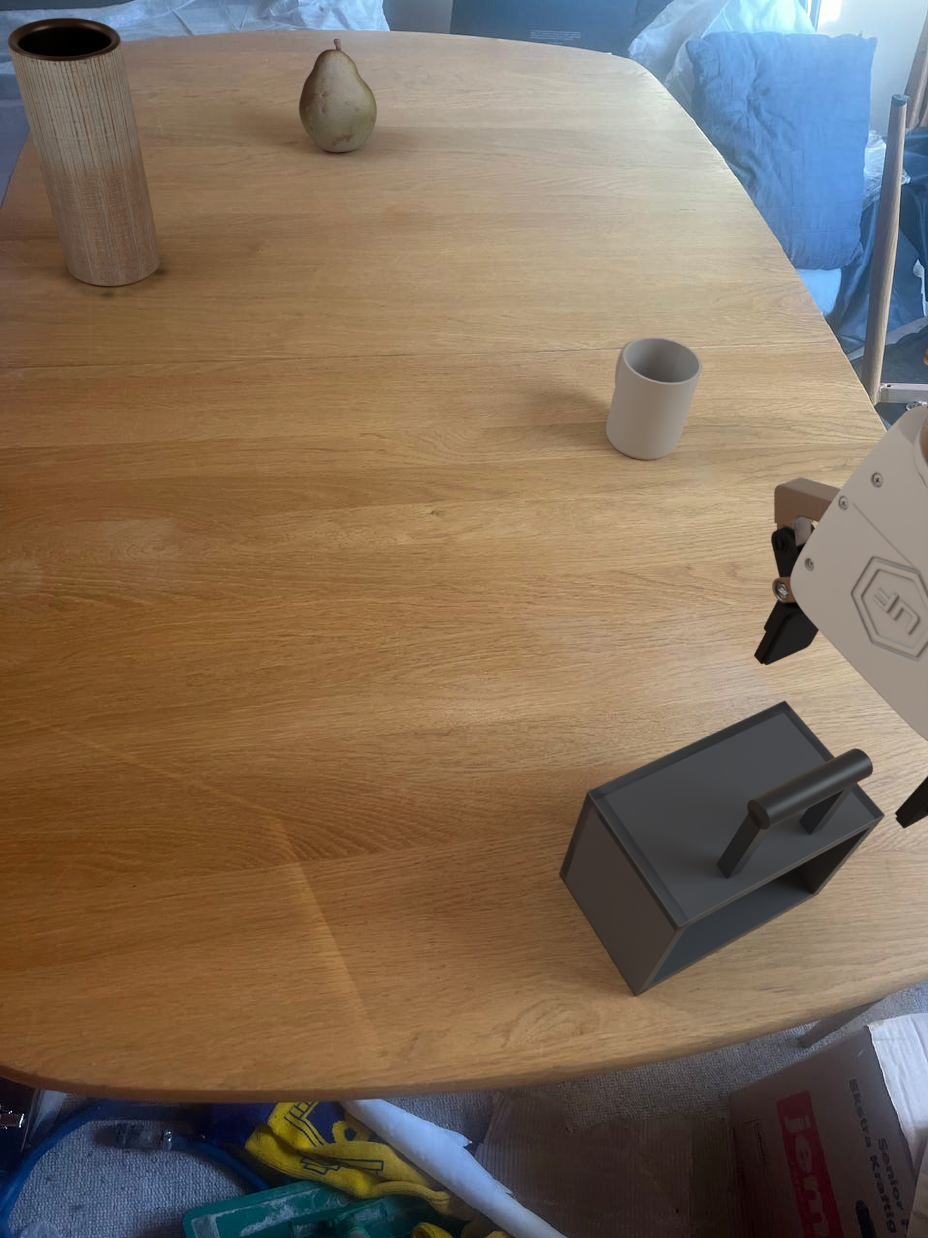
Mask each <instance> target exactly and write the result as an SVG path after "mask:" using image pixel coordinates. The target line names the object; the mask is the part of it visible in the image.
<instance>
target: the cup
mask: <svg viewBox="0 0 928 1238" xmlns="http://www.w3.org/2000/svg"><path fill="white" fill-rule="evenodd" d="M702 363H703V362H702V359H701V358H700V356H699V354H698V353H697V352H695V350H693V349H692V348H691V347H689V346H687V345H686V344H684V343H682V342H679V341H677V340H675V339H671V338H667V337H661V336H647V337H641V338H637V339H634V340H631V341H628V342H627V343H625V344H624V345H623V347H622V348H621V350H620V351H619V354H618V357H617V360H616V363H615V370H614V371H615V372H614V390H613V394H612V398H611V401H610V402H611V403H610V406H609V411H608V416H607V420H606V424H605V433H606V436H607V439H608V441H609V442H610V444H611V445H612V446H613V448H615V449H616V451H618V452H620V453H621V454H622V455H625V456H627V457H630V458H633V459H635V460H636V459H637V460H643V461H654V460H660V459H663V458H665V457H667V456H668V455H670V454H672V452H674V451H675V450H676V448H677V447H678V445H679V443H680V441H681V437H682V434H683V430H684V427H685V424H686V421H687V417H688V414H689V411H690V408H691V404H692V402H693V398H694V396H695V392H696V389H697V386H698V382H699V380H700V376H701V373H702V370H703V364H702Z"/></svg>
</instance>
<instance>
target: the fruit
mask: <svg viewBox="0 0 928 1238" xmlns="http://www.w3.org/2000/svg"><path fill="white" fill-rule="evenodd" d="M333 44H334V45H335V48H332V49H330V48H329V49H325V50H323V51H322V52H320V53H319V55H318V56H317V57H316V59H315V61H314V65H313V68H312V69H311V72H310V73H309V75H308V76H307V77H306V79H305V81H304V83H303V86H302V90H301V94H300V98H299V103H298V113H299V119H300V122H301V124H302V127H303V129H304V131H305V132H306V133H307V135H308V136H309V137H310V138H311V139H312V141H313V143H314V144H315V145H316V146H318V147H319V148H320V149H321V150H324V151H327V152H329V153H342V152H345V153H346V152H351V151H356V150H358V149H360V148H362V147H364V145H365V144H366V143H367V141H368V140H369V138H370V137H371V135H372V133H373V131H374V129H375V126H376V122H377V116H378V106H377V102H376V101H377V100H376V98H375V96H374V92H373V91H372V89H371V88H370V86H369V85H368V84H367V82H365V80H364V79H363V78H362V77H361V75H360V73H359V70H358V67H357V65H356V63H355V61H354V60H353V59H352V58H351V56H349V55H348V54H347V53H345V52H344V51H343V50H342V47H341V46H342V45H341V39H339V38H335V39H334V40H333Z"/></svg>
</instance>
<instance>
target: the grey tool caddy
mask: <svg viewBox="0 0 928 1238" xmlns="http://www.w3.org/2000/svg"><path fill="white" fill-rule="evenodd" d="M873 772H874V766H873V762H872V760H871V758H870V757H869V755H868V754H867V753H866V752H865V751H864V750H862V749H861V748H856V747H855V748H854V747H853V748H850V749H849V750H847V751H845V752H844V753H842V754H839V755H837V756H836V757H835V756H834V754H832V752H831V751H830V750H829V749H828V748H827V746H826V745H825V744H824V743H823V742H822V741H821V740H820V739H819V737H818V736H817V735H816V734H815V733H814V732H813V730H812V729H811V728H810V727H809V726H808V725H807V724H806V723H805V721H804V720H803V719H802V718H801V717H800V716H799V715H798V713H797V712H796V710H794V709H793V708H792V706H791V705H790V704H789V703H788V701H787V700H782V701H780V702H778V703H776V704H774V705H772V706H769V707H767V708H765V709H764V710H763V709H762V710H761V711H759V712H757V713H754V714H753V715H750V716H748V717H745V718H744V719H741V720H739V721H737V722H734V723H733V724H730V725H728V726H726V727H724V728H722V729H720V730H717V731H716V732H713V733H711V734H709V735H706V736H704V737H702V738H701V739H698V740H696V741H694V742H692V743H689V744H687V745H685V746H683V747H681V748H678V749H677V750H674V751H673V752H670V753H668V754H666V755H663V756H661V757H659V758H657V759H655V760H653V761H651V762H648V763H646V764H644V765H641V766H640V767H638V768H635V769H633V770H631V771H629V772H626V773H624V774H622V775H620V776H618V777H616V778H614V779H611V780H609V781H607V782H605V783H602V784H600V785H599V786H596V787H593V788H592V789H590V790H587V791H586V794H585V797H584V799H583V803H582V805H581V808H580V812H579V814H578V816H577V821H576V823H575V826H574V829H573V832H572V835H571V838H570V841H569V843H568V847H567V849H566V852H565V855H564V857H563V861H562V864H561V866H560V870H559V872H558V875H559V877H560V878H561V880H562V882H563V884H564V885H565V887H566V888H567V889H568V891H569V893H570V895H571V896H572V898H573V899H574V901H575V902H576V904H577V906H578V907H579V909H580V911H581V912H582V914H583V915H584V917H585V919H586V920H587V922H588V923H589V925H590V927H591V928H592V930H593V931H594V933H595V935H596V937H597V938H598V939H599V941H600V943H601V945H602V946H603V948H604V949H605V951H606V952H607V954H608V956H609V958H610V959H611V961H612V962H613V964H614V965H615V967H616V969H617V970H618V972H619V973H620V975H621V976H622V978H623V980H624V981H625V983H626V984H627V986H628V988H629V990H630V991H631V993H632V994H633V996H634V997H635V998H637V997H639V996H640V995H642V994H644V993H646V992H647V991H649V990H651V989H653V988H655V987H656V986H658V985H660V984H662V983H664V982H665V981H667V980H669V979H671V978H672V977H674V976H676V975H678V974H680V973H681V972H683V971H685V970H686V969H688V968H690V967H691V966H694V965H696V964H697V963H699V962H701V961H702V960H704V959H706V958H708V957H710V956H712V955H713V954H715V953H717V952H718V951H721V950H722V949H724V948H726V947H727V946H729V945H731V944H733V943H734V942H736V941H738V940H740V939H741V938H743V937H745V936H747V935H749V934H750V933H752V932H754V931H755V930H757V929H759V928H761V927H763V926H764V925H767V924H769V923H770V922H772V921H774V920H775V919H777V918H779V917H780V916H782V915H784V914H786V913H788V912H789V911H791V910H793V909H795V908H796V907H798V906H800V905H802V904H804V903H805V902H807V901H809V900H811V899H813V898H814V897H816V896H818V895H819V894H820V893H821V892H822V890H823V889H824V888H825V887H826V886H827V884H828V883H829V882H830V881H831V880H832V879H833V878H834V876H836V874H837V873H838V872H839V871H840V869H841V868H842V867H843V866H844V865H845V863H846V862H847V861H848V860H849V859H850V857H851V856H852V855H853V854H854V853H855V852H856V851H857V849H858V848H859V847H860V846H861V845H862V844H863V842H864V841H865V840H866V839H867V838H868V837H869V835H870V834H871V833H872V832H873V831H874V830H875V829H876V827H877V826H878V825H879V824H880V823H881V821H882V820H883V819H884V818H885V817H886V814H885V813H884V812H883V810H881V808H880V807H879V806H878V805H877V804H876V803H875V801H873V799H872V798H871V797H870V796H869V794H868V793H867V792H866V791H865V790H864V789H863V788H862V787H861V786H860V785H859V782H862V781H863V780H865V779H867V778H869V777H871V776H872V774H873Z"/></svg>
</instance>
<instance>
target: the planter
mask: <svg viewBox="0 0 928 1238" xmlns="http://www.w3.org/2000/svg"><path fill="white" fill-rule="evenodd" d="M7 48H8V51H9V56H10V60H11V63H12V66H13V70H14V74H15V77H16V82H17V85H18V89H19V93H20V96H21V100H22V104H23V107H24V111H25V115H26V120H27V123H28V127H29V130H30V134H31V139H32V142H33V146H34V150H35V153H36V156H37V157H36V158H37V161H38V165H39V168H40V172H41V176H42V179H43V183H44V186H45V187H44V188H45V191H46V195H47V198H48V202H49V206H50V210H51V213H52V218H53V221H54V224H55V229H56V231H57V236H58V240H59V243H60V248H61V251H62V256H63V259H64V262H65V265H66V267H67V270H68V272H69V273H70V275H72V276H73V277H74V278H75V279H77V280H79V281H81V282H84V283H86V284H89V285H94V286H99V287H119V286H126V285H131V284H134V283H137V282H140V281H143V280H144V279H146V278H147V277H149V276H151V275H152V274H153V273H155V271H157V269H158V268H159V266H160V264H161V254H160V246H159V241H158V235H157V230H156V224H155V218H154V214H153V213H154V212H153V208H152V207H153V206H152V203H151V197H150V196H151V195H150V192H149V186H148V181H147V175H146V169H145V164H144V159H143V152H142V148H141V142H140V137H139V131H138V126H137V120H136V115H135V110H134V103H133V99H132V93H131V87H130V82H129V81H130V80H129V74H128V71H127V65H126V60H125V54H124V48H123V44H122V39H121V36H120V34H119V33H118V31H116V29H114V28H113V27H111V26H109V25H107V24H105V23H102V22H100V21H96V20H92V19H85V18H77V17H55V18H44V19H40V20H35V21H32V22H28V23H25V24H23V25H21V26H18V27H17V28H15V29H14V30H13V31H12V32H10V34H9V35H8V37H7Z"/></svg>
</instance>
